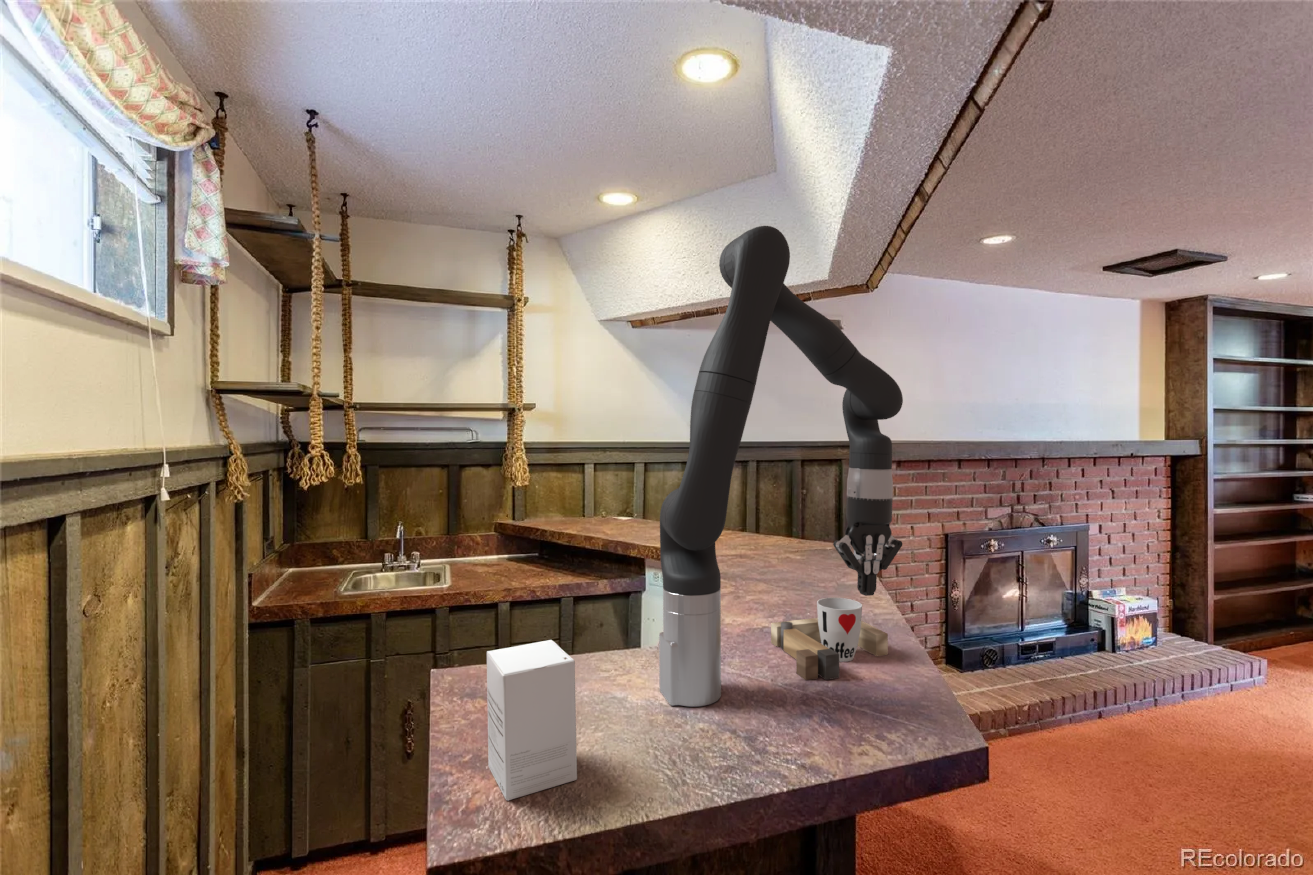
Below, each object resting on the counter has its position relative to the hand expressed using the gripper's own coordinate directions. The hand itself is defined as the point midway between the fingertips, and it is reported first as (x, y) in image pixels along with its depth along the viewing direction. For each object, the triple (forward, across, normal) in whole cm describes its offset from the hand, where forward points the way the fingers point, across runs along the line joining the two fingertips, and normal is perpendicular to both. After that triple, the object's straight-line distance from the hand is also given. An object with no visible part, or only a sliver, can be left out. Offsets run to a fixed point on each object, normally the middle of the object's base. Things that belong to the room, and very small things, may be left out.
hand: (866, 594), depth 108 cm
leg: (+14, -7, +8) cm, 17 cm away
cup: (+14, 0, +8) cm, 16 cm away
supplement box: (+16, -58, -14) cm, 62 cm away
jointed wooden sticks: (+14, -1, +10) cm, 17 cm away
